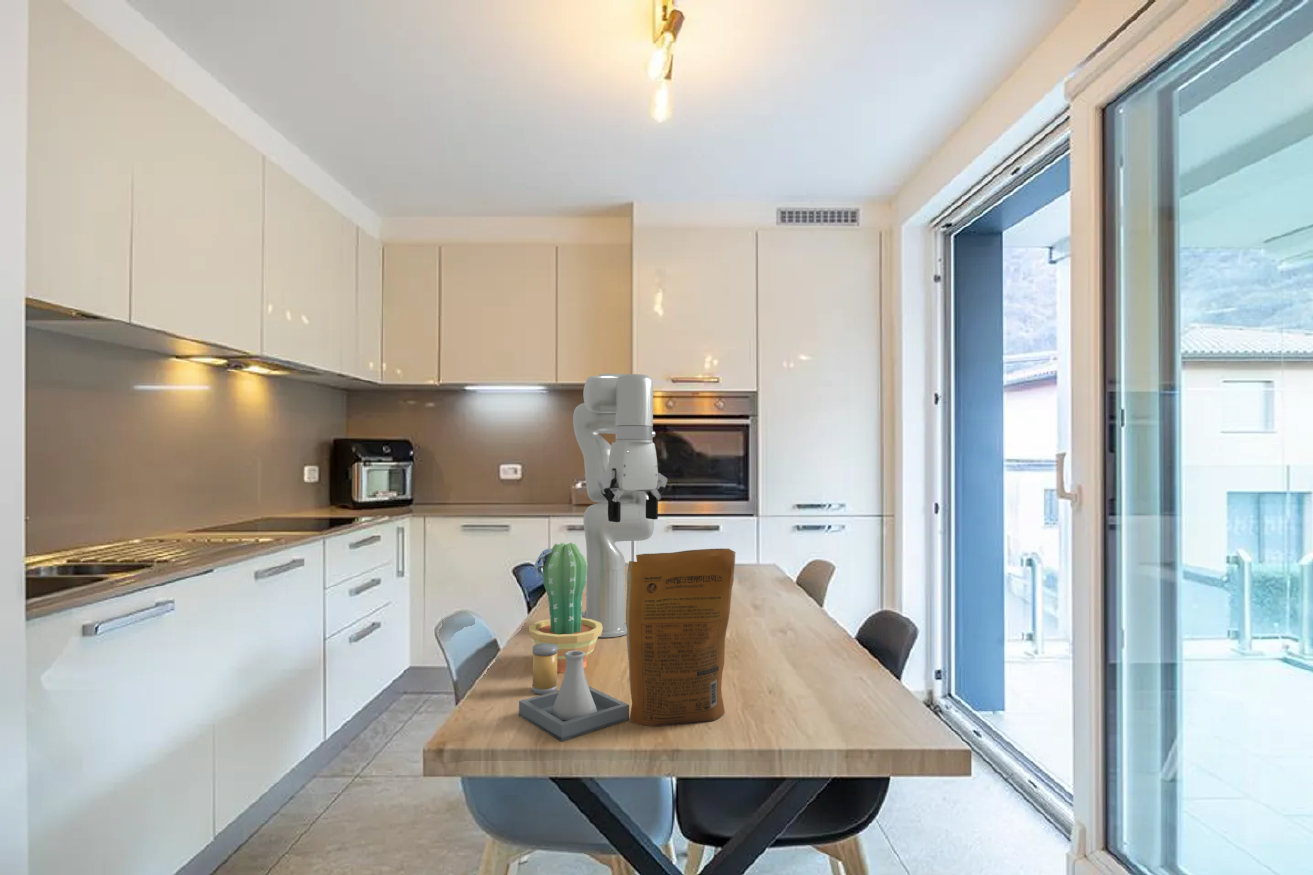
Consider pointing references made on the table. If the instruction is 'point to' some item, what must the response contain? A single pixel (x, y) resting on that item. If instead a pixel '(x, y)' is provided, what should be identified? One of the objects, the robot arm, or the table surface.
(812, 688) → the table surface
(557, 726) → the tray
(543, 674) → the fuse
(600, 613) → the robot arm
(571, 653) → the flask
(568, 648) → the potted cactus
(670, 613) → the pancake mix bag
